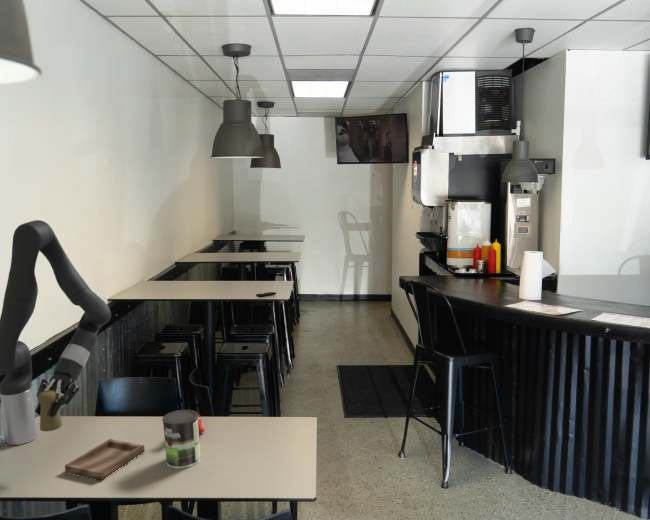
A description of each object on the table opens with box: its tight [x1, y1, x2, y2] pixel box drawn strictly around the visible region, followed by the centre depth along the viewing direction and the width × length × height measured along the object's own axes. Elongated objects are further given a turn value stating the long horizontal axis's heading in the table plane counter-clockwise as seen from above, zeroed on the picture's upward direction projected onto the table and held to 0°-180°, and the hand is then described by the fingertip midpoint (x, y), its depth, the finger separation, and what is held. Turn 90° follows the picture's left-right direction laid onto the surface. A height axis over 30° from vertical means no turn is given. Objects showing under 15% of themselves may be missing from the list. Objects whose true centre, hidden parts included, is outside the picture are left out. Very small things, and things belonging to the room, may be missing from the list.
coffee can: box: [161, 409, 202, 470], centre depth 177 cm, size 10×10×14 cm
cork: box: [37, 390, 63, 432], centre depth 174 cm, size 6×6×11 cm
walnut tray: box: [64, 438, 145, 482], centre depth 178 cm, size 14×18×2 cm
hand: (44, 414), depth 172 cm, fingers closed on cork, 4 cm apart
